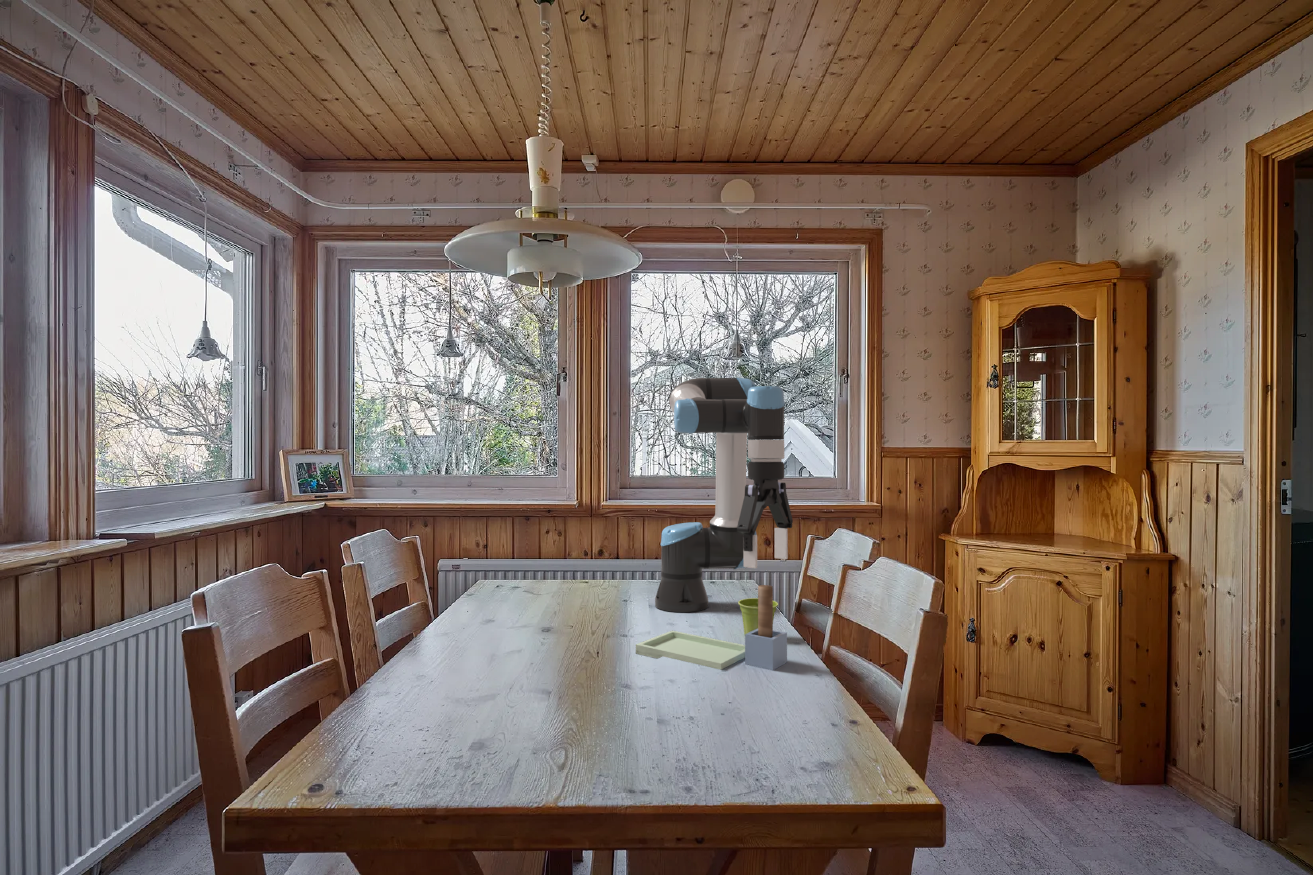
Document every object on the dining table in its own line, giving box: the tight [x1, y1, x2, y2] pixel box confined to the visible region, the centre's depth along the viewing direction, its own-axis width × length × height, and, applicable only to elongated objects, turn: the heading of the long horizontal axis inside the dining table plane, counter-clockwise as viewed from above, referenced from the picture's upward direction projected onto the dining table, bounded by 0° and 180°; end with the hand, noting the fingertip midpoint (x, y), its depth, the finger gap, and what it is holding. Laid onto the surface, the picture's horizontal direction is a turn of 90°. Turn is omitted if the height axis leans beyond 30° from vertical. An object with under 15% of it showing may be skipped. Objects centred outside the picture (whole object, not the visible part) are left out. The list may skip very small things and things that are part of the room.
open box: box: [744, 629, 788, 672], centre depth 144 cm, size 6×6×7 cm
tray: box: [635, 630, 745, 670], centre depth 153 cm, size 14×22×2 cm, turn 53°
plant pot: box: [737, 597, 779, 636], centre depth 165 cm, size 9×9×9 cm
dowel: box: [757, 584, 774, 638], centre depth 144 cm, size 3×3×16 cm
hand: (766, 562), depth 144 cm, fingers open, 13 cm apart
